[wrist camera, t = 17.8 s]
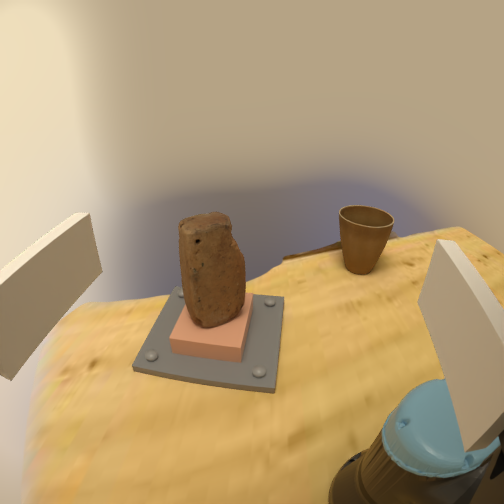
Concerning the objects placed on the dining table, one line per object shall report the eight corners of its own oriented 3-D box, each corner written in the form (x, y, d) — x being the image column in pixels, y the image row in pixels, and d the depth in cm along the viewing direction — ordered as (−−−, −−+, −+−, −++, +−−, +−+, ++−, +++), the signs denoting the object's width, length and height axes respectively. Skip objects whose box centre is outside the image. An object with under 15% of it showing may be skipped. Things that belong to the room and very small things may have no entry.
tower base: (283, 302, 73) (285, 282, 70) (274, 393, 51) (276, 373, 48) (176, 291, 76) (173, 272, 73) (133, 370, 54) (126, 350, 51)
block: (195, 333, 56) (183, 233, 46) (183, 309, 62) (172, 215, 52) (249, 318, 60) (250, 220, 50) (234, 296, 66) (232, 204, 56)
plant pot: (372, 254, 93) (381, 205, 85) (390, 281, 80) (403, 227, 72) (326, 254, 93) (332, 203, 85) (339, 283, 80) (349, 226, 72)
